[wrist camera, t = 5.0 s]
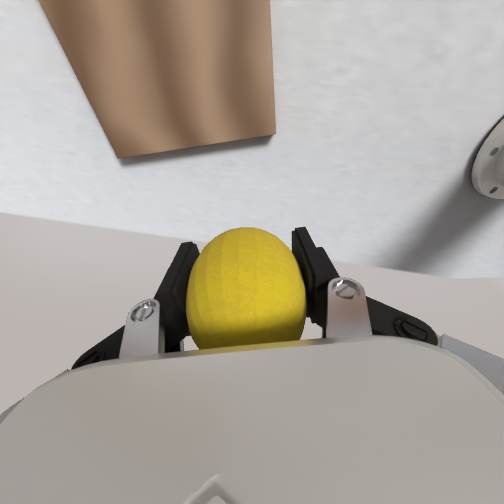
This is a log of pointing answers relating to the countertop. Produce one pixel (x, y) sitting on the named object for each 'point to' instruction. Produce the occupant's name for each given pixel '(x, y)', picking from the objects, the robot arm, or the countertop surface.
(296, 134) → the countertop surface
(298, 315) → the lemon
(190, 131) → the cutting board
